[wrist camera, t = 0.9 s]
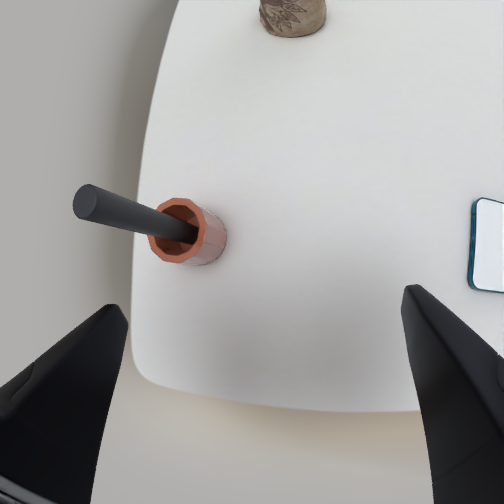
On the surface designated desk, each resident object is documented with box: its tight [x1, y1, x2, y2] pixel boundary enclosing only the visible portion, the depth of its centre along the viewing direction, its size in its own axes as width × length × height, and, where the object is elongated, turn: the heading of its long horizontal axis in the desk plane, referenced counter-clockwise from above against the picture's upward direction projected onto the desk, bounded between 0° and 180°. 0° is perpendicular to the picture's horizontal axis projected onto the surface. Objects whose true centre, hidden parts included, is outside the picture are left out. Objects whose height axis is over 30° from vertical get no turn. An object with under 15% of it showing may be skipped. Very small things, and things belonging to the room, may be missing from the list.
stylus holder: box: [147, 198, 227, 265], centre depth 22 cm, size 4×4×5 cm
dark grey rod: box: [73, 184, 199, 245], centre depth 18 cm, size 2×2×14 cm
